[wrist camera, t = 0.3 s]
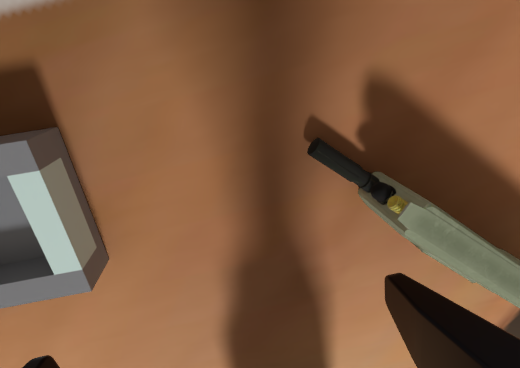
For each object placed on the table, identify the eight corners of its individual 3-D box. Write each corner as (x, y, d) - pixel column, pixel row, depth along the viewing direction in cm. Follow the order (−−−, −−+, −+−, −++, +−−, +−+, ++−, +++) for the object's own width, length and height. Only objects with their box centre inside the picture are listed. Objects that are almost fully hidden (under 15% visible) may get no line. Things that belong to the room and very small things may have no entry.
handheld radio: (499, 291, 30) (292, 161, 23) (524, 265, 29) (319, 122, 22) (574, 348, 24) (323, 195, 16) (608, 317, 23) (362, 142, 16)
